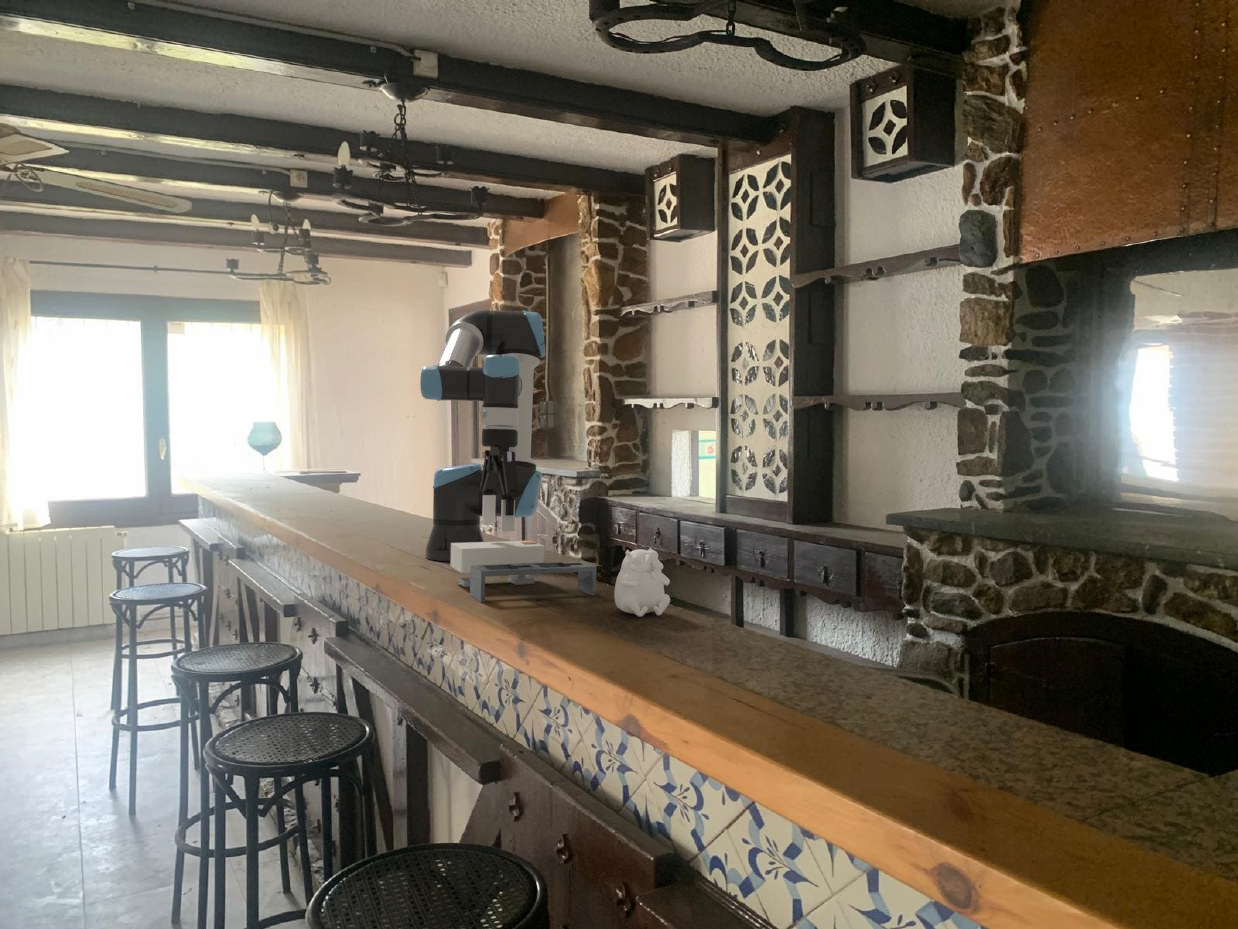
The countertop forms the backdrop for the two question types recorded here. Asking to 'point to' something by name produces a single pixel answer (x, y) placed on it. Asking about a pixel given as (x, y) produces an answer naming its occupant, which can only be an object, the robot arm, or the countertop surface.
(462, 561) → the white rectangular block
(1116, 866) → the countertop surface
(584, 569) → the rail
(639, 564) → the figurine
